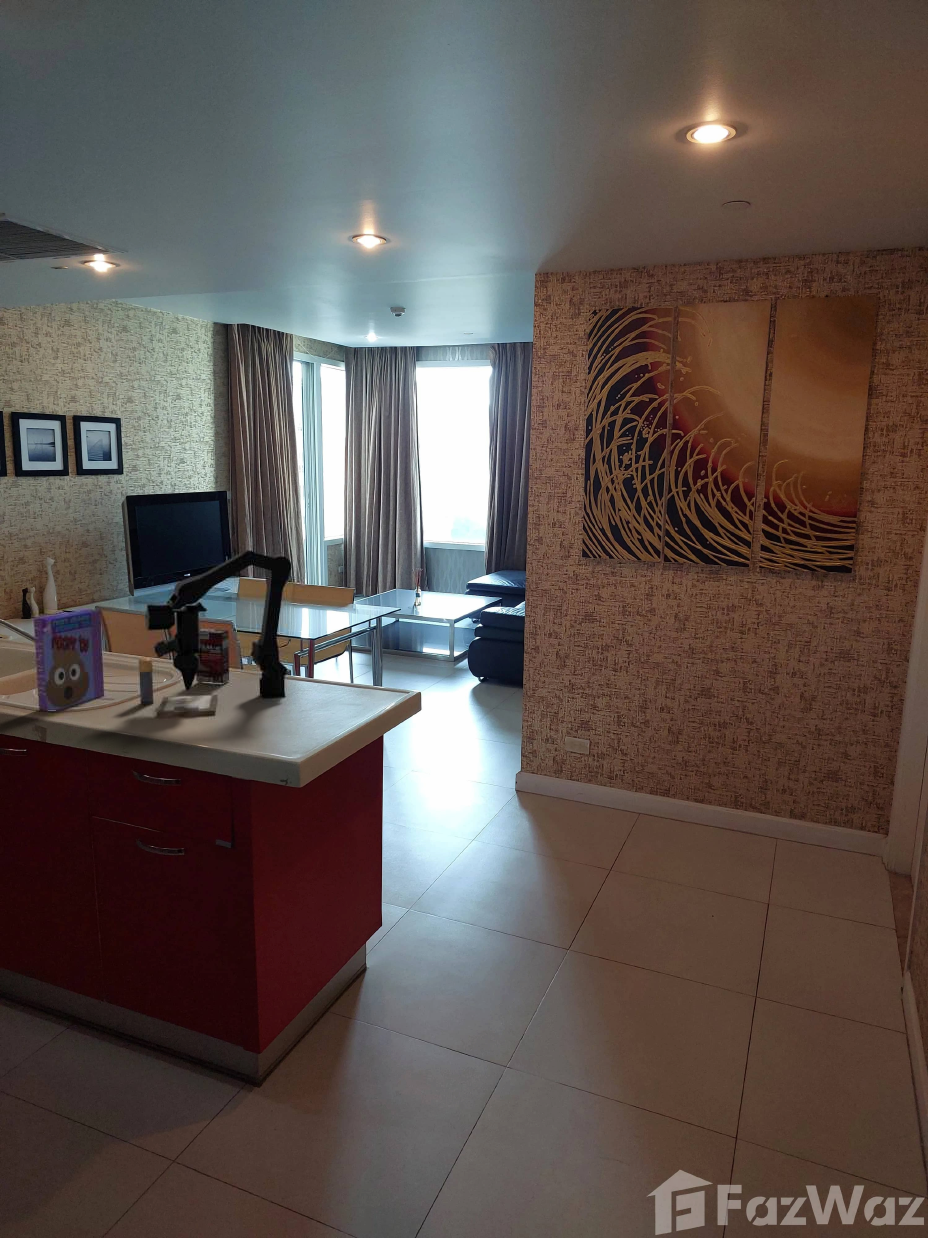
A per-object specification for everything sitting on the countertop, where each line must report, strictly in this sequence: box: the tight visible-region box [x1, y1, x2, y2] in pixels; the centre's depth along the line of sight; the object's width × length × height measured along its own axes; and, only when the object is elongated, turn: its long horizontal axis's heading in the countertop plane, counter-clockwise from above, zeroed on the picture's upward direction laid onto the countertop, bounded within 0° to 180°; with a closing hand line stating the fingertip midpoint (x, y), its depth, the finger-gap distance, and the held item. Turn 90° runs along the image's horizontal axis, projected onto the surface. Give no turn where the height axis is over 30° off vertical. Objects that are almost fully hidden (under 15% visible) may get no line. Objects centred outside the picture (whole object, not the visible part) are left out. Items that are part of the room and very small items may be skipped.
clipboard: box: [156, 694, 218, 718], centre depth 212 cm, size 14×16×2 cm
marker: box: [138, 657, 154, 706], centre depth 214 cm, size 3×3×12 cm
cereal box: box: [33, 608, 105, 711], centre depth 212 cm, size 17×5×24 cm, turn 162°
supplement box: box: [195, 628, 230, 684], centre depth 238 cm, size 9×5×16 cm, turn 80°
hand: (189, 685), depth 215 cm, fingers open, 8 cm apart
